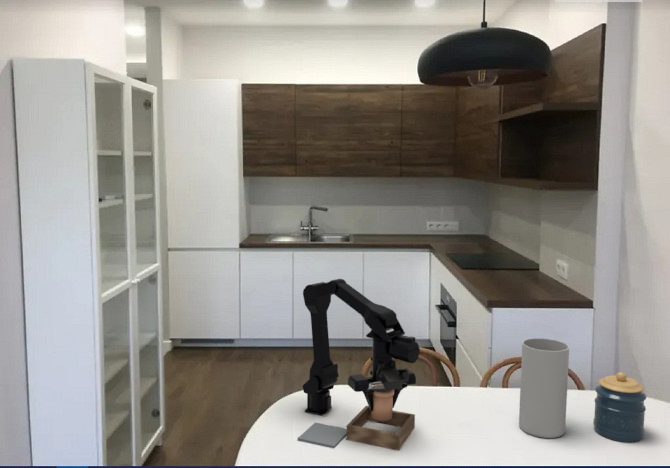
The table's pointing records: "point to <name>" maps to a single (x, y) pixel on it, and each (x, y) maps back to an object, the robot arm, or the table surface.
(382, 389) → the terracotta pot
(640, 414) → the canister
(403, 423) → the brown wooden square frame
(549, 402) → the cylinder vase
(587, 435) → the table surface
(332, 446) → the slate mat
